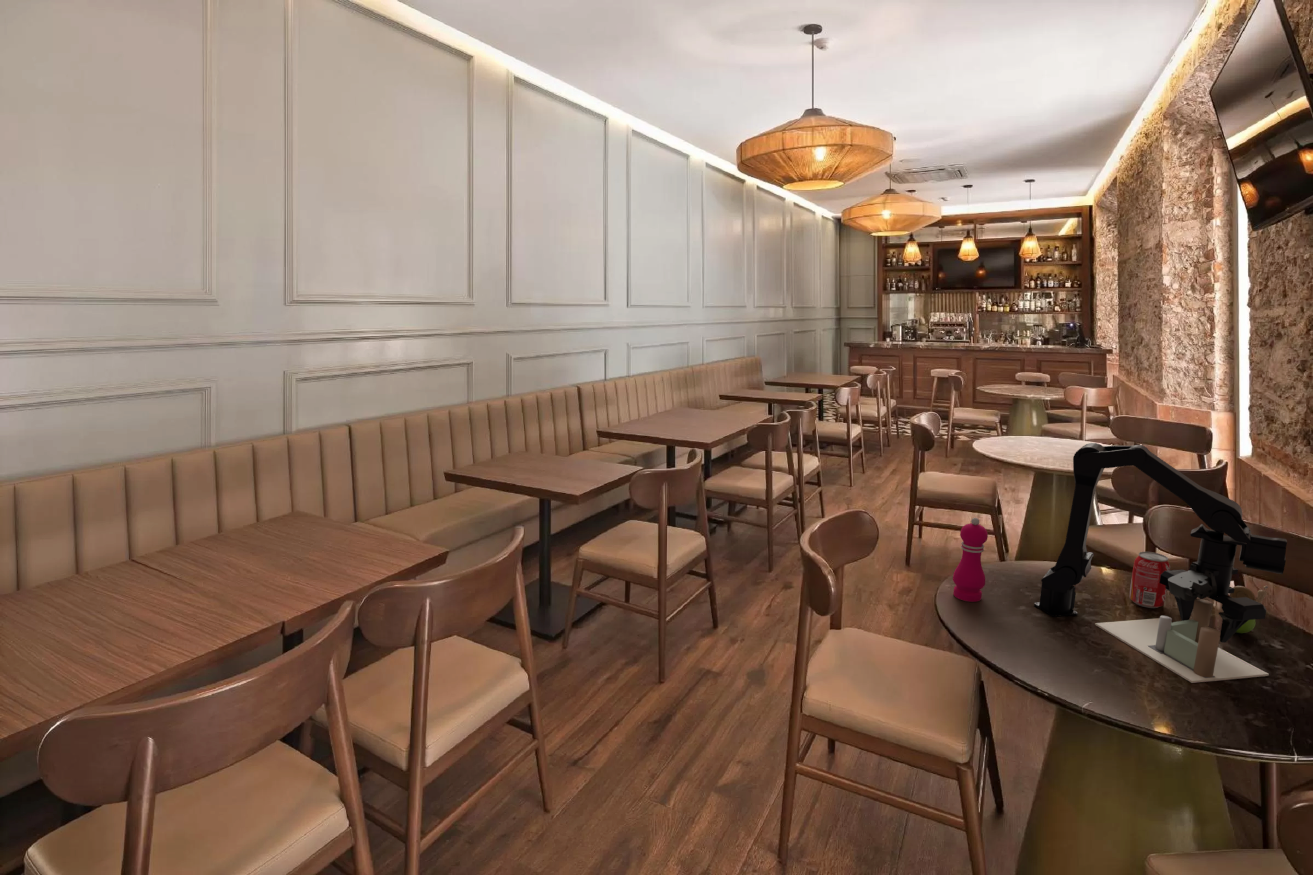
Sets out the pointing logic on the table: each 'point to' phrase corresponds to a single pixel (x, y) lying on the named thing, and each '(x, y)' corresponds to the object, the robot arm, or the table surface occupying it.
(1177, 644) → the fence fixed
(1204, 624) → the fence gate
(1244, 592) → the snail figurine
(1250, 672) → the card
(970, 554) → the pepper mill
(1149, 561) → the soda can
